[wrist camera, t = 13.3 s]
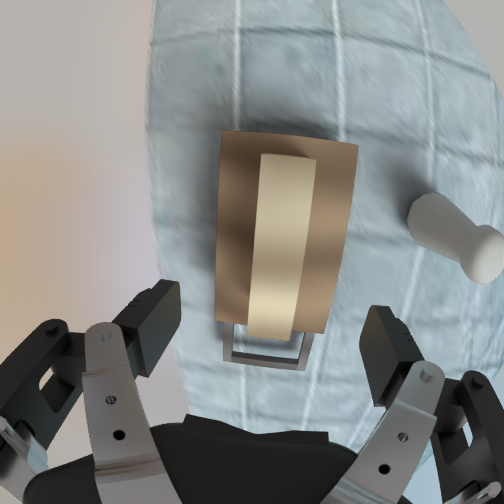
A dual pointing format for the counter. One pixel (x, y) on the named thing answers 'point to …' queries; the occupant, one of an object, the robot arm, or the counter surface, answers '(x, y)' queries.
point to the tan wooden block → (280, 237)
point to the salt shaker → (457, 237)
